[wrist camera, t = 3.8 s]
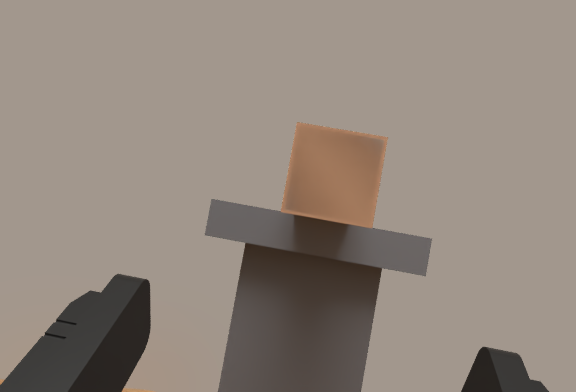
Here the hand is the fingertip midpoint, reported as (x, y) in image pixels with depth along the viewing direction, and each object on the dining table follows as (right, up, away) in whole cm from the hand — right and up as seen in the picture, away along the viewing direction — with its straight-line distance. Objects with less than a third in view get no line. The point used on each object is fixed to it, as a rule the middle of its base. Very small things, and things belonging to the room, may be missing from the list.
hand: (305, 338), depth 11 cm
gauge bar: (+2, +2, +17) cm, 17 cm away
